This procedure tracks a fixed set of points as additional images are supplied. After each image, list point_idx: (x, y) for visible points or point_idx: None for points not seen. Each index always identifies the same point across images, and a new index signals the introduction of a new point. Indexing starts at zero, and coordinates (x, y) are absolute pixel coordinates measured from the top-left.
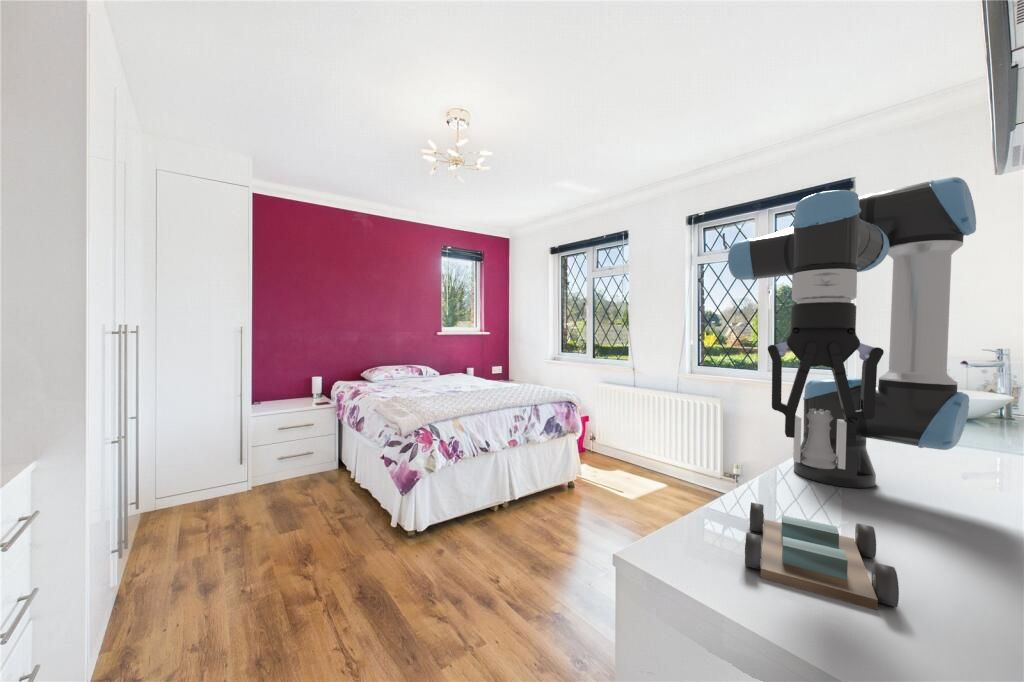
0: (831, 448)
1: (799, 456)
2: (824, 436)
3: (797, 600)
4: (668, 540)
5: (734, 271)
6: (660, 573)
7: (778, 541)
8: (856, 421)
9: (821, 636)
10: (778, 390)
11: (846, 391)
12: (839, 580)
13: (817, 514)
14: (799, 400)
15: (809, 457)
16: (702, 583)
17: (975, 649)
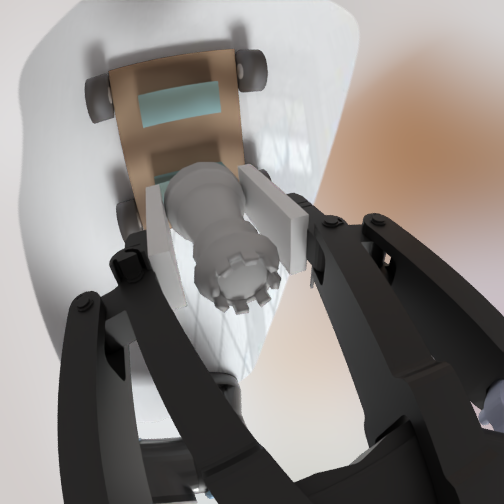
0: (181, 219)
1: (244, 171)
2: (204, 216)
3: (188, 27)
4: (336, 79)
5: None
6: (324, 4)
7: (223, 145)
8: (114, 256)
9: None
10: (418, 259)
11: (168, 369)
12: (146, 85)
13: (195, 293)
14: (335, 259)
15: (222, 170)
16: (284, 3)
17: (39, 75)
